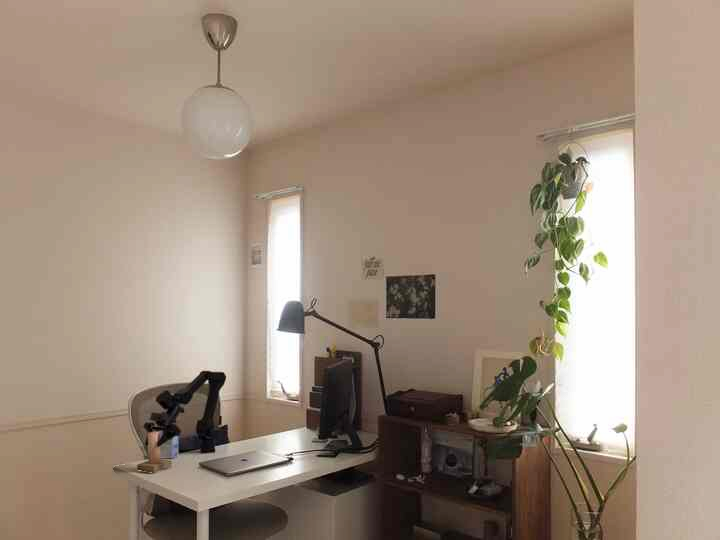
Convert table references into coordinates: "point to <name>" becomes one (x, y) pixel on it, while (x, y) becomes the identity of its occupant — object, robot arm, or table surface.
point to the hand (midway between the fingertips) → (151, 445)
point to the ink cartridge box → (169, 447)
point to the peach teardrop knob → (153, 447)
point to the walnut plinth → (154, 466)
